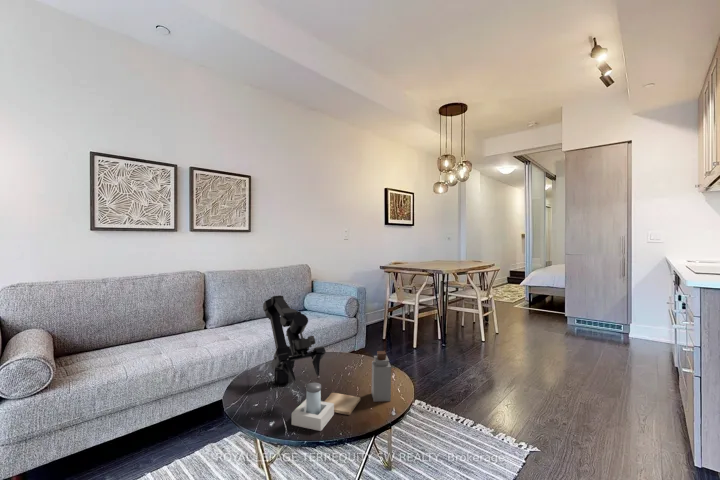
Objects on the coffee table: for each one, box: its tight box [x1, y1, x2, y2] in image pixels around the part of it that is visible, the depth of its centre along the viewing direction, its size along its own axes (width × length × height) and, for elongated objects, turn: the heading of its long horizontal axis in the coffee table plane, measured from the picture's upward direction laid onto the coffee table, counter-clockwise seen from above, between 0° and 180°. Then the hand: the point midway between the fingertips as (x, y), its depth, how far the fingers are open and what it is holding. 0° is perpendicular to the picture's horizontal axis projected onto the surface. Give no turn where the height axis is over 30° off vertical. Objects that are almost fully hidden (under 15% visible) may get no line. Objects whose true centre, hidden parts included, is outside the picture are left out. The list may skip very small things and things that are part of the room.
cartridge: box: [305, 382, 322, 415], centre depth 120 cm, size 5×5×12 cm
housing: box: [291, 399, 335, 432], centre depth 120 cm, size 11×11×4 cm
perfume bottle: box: [371, 350, 392, 403], centre depth 137 cm, size 7×7×18 cm
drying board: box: [323, 392, 361, 416], centre depth 131 cm, size 12×12×1 cm
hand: (306, 378), depth 125 cm, fingers open, 9 cm apart
